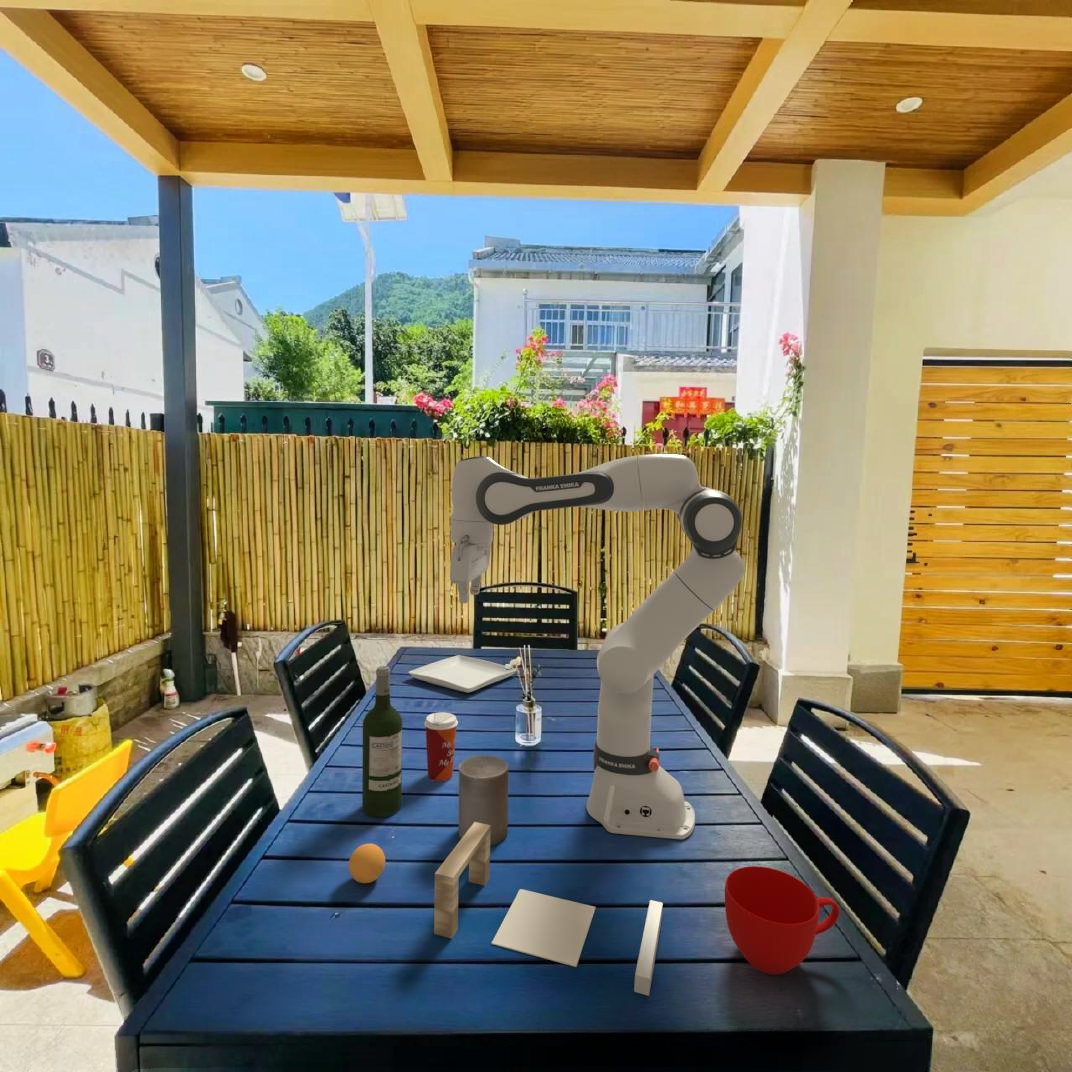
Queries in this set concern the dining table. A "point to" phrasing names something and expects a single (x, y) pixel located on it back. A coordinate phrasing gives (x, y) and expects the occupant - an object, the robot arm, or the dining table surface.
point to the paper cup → (440, 745)
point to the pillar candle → (484, 795)
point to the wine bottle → (382, 753)
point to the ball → (367, 863)
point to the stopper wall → (648, 948)
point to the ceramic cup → (773, 917)
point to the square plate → (462, 673)
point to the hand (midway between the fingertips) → (469, 598)
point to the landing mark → (545, 927)
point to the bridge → (447, 876)
